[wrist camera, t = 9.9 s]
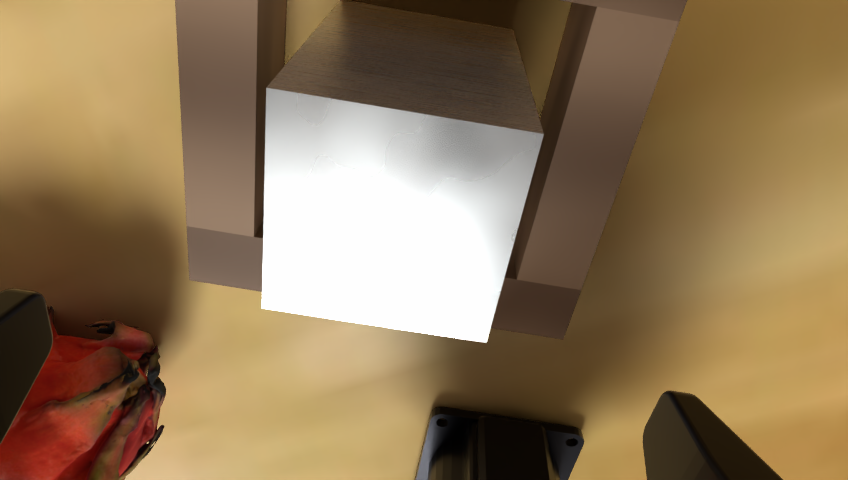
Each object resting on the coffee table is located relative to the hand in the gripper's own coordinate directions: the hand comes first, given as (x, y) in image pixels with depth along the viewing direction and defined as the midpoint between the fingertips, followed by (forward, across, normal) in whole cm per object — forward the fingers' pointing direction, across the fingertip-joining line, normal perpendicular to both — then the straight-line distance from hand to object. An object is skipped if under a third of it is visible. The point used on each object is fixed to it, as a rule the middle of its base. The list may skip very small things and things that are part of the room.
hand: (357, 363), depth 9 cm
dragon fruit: (+12, +12, +13) cm, 21 cm away
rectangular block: (+12, 0, 0) cm, 12 cm away
